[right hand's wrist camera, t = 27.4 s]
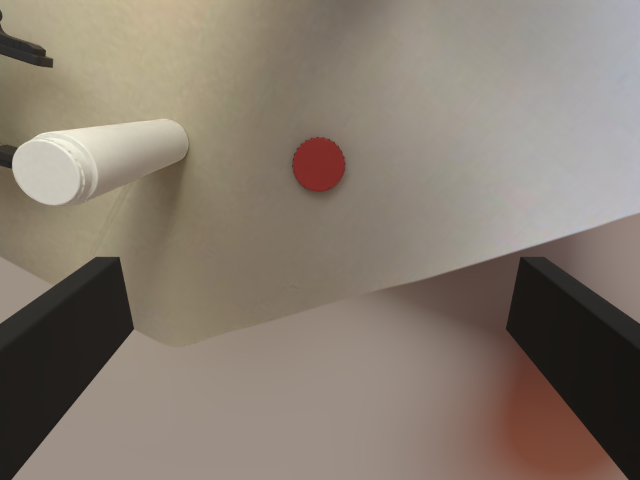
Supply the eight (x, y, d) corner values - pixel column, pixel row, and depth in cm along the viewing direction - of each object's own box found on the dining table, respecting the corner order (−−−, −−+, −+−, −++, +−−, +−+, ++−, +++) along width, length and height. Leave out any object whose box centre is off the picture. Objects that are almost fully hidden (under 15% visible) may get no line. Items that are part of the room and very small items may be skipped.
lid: (285, 149, 40) (283, 150, 38) (333, 128, 39) (333, 129, 37) (305, 196, 41) (304, 199, 40) (351, 177, 41) (352, 180, 39)
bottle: (186, 167, 40) (84, 218, 23) (143, 157, 40) (7, 202, 23) (191, 124, 39) (86, 144, 21) (146, 114, 38) (2, 125, 21)
